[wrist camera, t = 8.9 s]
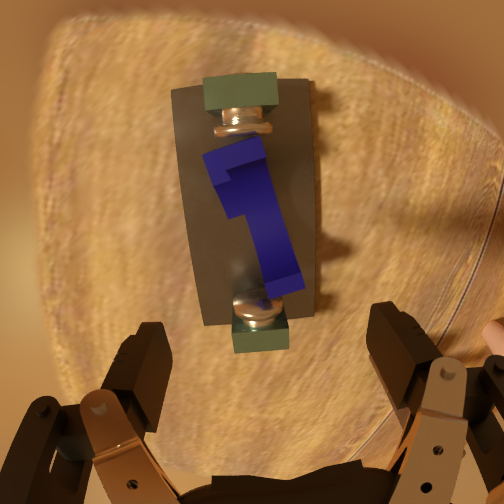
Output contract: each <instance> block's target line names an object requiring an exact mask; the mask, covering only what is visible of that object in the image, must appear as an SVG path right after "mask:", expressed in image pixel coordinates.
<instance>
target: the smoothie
mask: <svg viewBox="0 0 504 504" xmlns="http://www.w3.org/2000/svg"><path fill="white" fill-rule="evenodd" d="M482 337H483V339H484V341H485V342H486V344H487V345H488V347H489V348H490V350H491V351H492V353H493V354H494V355H502V356H504V327H503V326H502V325H501V324H499V323H498V322H496V321H495V320H492V321H490V322H489V323H488V324H487V325H486V326H485V328H484V330H483V332H482Z"/></svg>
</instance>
